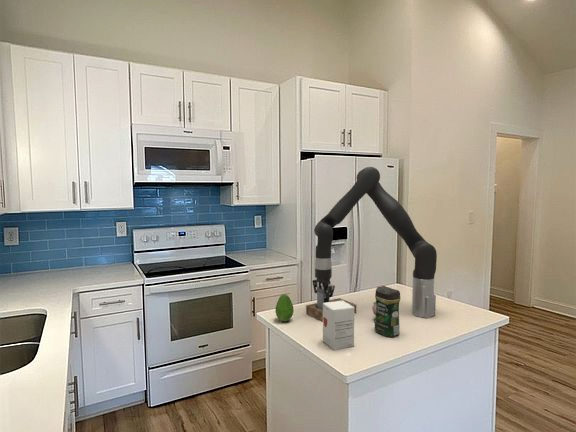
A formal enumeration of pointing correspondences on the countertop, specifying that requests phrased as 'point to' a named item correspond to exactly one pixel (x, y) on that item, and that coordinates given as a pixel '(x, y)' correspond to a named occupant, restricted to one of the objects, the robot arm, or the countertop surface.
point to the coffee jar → (387, 311)
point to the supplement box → (338, 324)
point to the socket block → (318, 313)
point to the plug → (320, 298)
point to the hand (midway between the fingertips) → (323, 304)
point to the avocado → (284, 308)
